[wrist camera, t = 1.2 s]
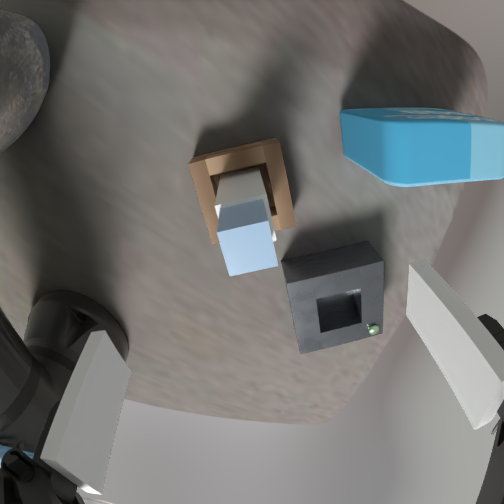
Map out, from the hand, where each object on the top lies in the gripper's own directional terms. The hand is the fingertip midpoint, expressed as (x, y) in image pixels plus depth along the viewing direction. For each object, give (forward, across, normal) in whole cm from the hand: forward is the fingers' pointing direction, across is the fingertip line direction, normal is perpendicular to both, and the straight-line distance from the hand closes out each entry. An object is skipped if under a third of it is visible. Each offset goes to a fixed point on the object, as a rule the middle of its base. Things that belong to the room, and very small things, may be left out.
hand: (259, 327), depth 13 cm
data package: (+20, +16, +3) cm, 26 cm away
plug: (+20, 0, 0) cm, 20 cm away
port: (+20, +7, -14) cm, 26 cm away
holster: (+20, 0, 0) cm, 20 cm away
